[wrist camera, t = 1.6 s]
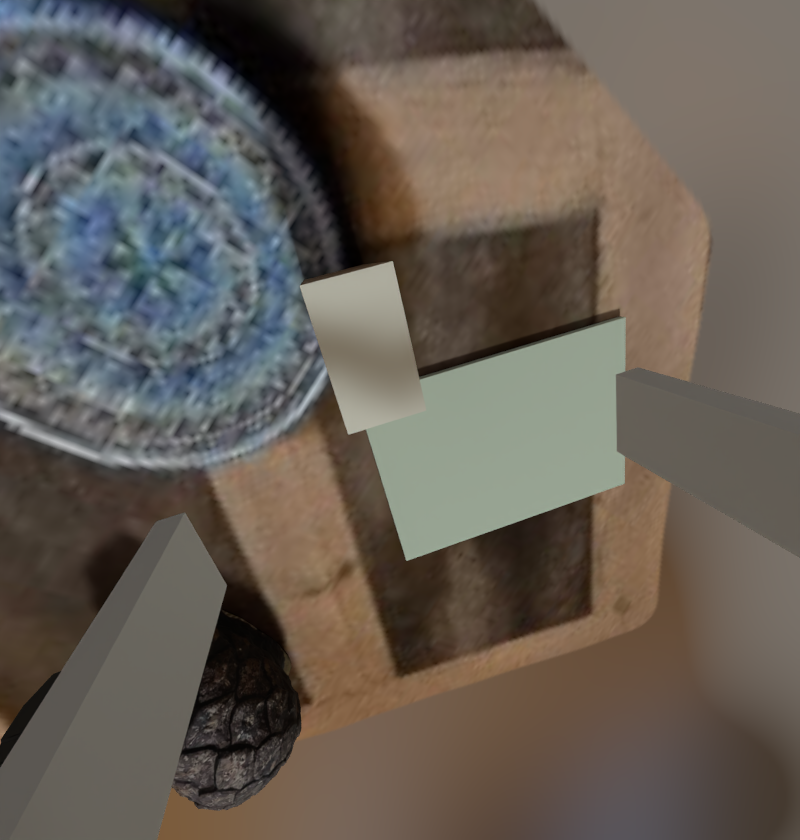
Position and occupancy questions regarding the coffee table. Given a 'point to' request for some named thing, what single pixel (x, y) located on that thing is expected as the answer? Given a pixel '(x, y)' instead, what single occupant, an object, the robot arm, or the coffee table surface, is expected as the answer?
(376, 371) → the beige rectangular block
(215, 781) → the pine cone
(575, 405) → the mat
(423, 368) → the coffee table surface
